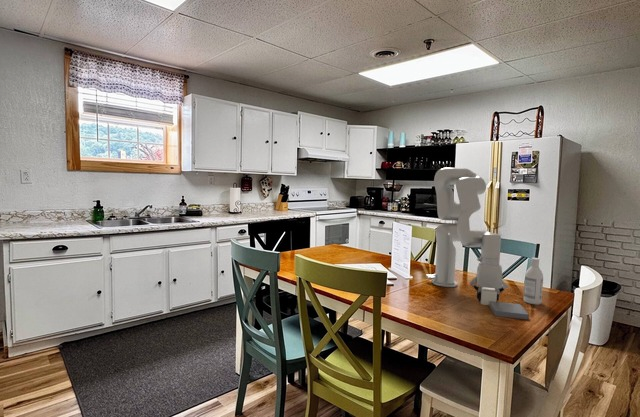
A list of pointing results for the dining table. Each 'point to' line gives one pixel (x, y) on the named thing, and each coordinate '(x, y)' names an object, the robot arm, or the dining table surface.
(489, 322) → the dining table surface
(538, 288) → the bath foam
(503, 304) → the tile
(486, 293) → the block
